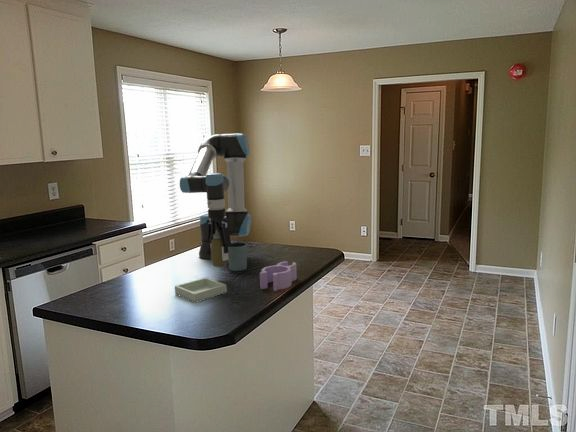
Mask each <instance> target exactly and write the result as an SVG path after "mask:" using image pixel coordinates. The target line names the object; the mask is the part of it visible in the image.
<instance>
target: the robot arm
mask: <svg viewBox="0 0 576 432" xmlns="http://www.w3.org/2000/svg"><path fill="white" fill-rule="evenodd" d="M249 146H250V145H249V141H248V138H247V136H246V134H245V133H241V132H239V133H238V132H236V133H235V132H234V133H216V134H213V135H210V136H209V137H207V138H206V139H204V140H203V141H202V143H201V144H200V145H199V147H198V150H197V153H198V154H197V156H196V158H195V160H194V162H193V164H192V167H191V170H189V172H188V173H189V174H188V175H187V176H182V177H180V180H179V188H180V191H181V192H182V193H183V194H196V193H197V194H200V193H206V200H207V203H206V204H207V213H205V214H203V215H201V216H200V218H199V219H200V220H199V226H200V227H199V228H200V238H201V244H200V247H199V251H198V257H199V258H200V259H203V260H211V240H212V239H214V238H213V234H215V232H216V229H217V231H218V232H219V235H220V238H221V241H222V260H223V261H225V260H229V259H228V245H231V243H232V242H231V237H233V238H234V237H238V238H239V237H247V236H248V235H249V233H250V231H251V230H250V229H251V226H252V225H251V224H252V217H251V216H252V215H251V214H250V213H249V212H248V209H247V208H245V178H244V177H245V174H244V173H245V170H244V169H245V167H244V162H245V161H246V160H247V156H249V155H250V147H249ZM216 157H223V160H224V161H225V162H226V165H227V166H226V170H227V171H226V173H227V175H225V174H222V172H210V173H208V171H209V170H210V169H209V168H210V167H211V164H212V162H213V160H214V159H216ZM226 191H227V204H228V205H227V206H228V207H227V209H225V207H226V201H225V192H226Z"/></svg>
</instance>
